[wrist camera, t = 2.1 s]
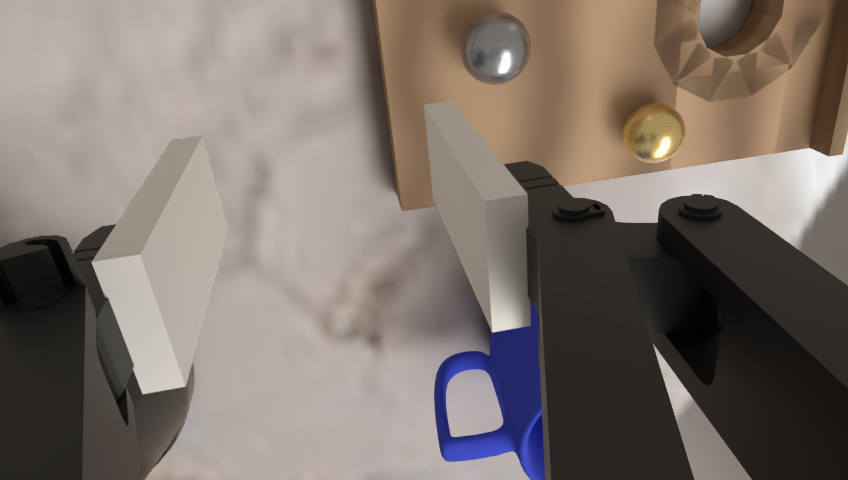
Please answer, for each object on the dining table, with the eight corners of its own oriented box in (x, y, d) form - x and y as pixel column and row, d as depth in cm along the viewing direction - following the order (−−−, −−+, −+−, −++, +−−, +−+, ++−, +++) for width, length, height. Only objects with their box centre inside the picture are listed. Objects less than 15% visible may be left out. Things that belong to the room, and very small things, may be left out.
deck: (396, 193, 36) (405, 222, 32) (354, -136, 28) (360, -145, 25) (793, 132, 38) (842, 154, 34) (848, -187, 31) (918, -201, 27)
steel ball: (456, 81, 31) (470, 96, 28) (451, 11, 29) (465, 20, 26) (520, 72, 31) (540, 86, 28) (518, 3, 30) (539, 11, 27)
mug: (409, 296, 39) (438, 405, 30) (598, 265, 40) (680, 362, 31) (421, 399, 42) (450, 524, 34) (594, 369, 44) (666, 481, 35)
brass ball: (611, 155, 34) (636, 175, 31) (613, 100, 32) (640, 116, 30) (664, 147, 34) (694, 166, 31) (669, 92, 33) (700, 107, 30)
